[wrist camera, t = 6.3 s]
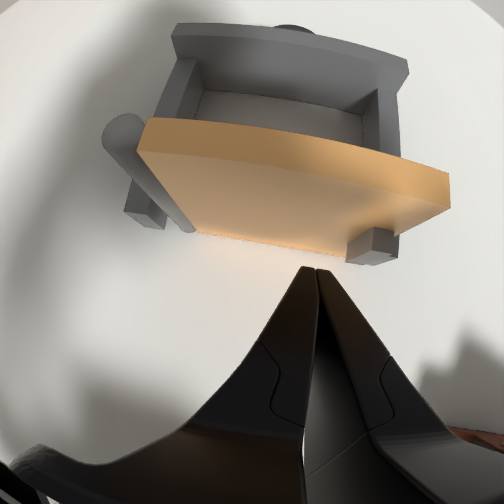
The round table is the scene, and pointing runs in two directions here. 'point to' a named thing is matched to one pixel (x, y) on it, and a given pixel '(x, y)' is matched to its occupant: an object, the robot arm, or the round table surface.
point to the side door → (277, 185)
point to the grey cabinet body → (279, 84)
